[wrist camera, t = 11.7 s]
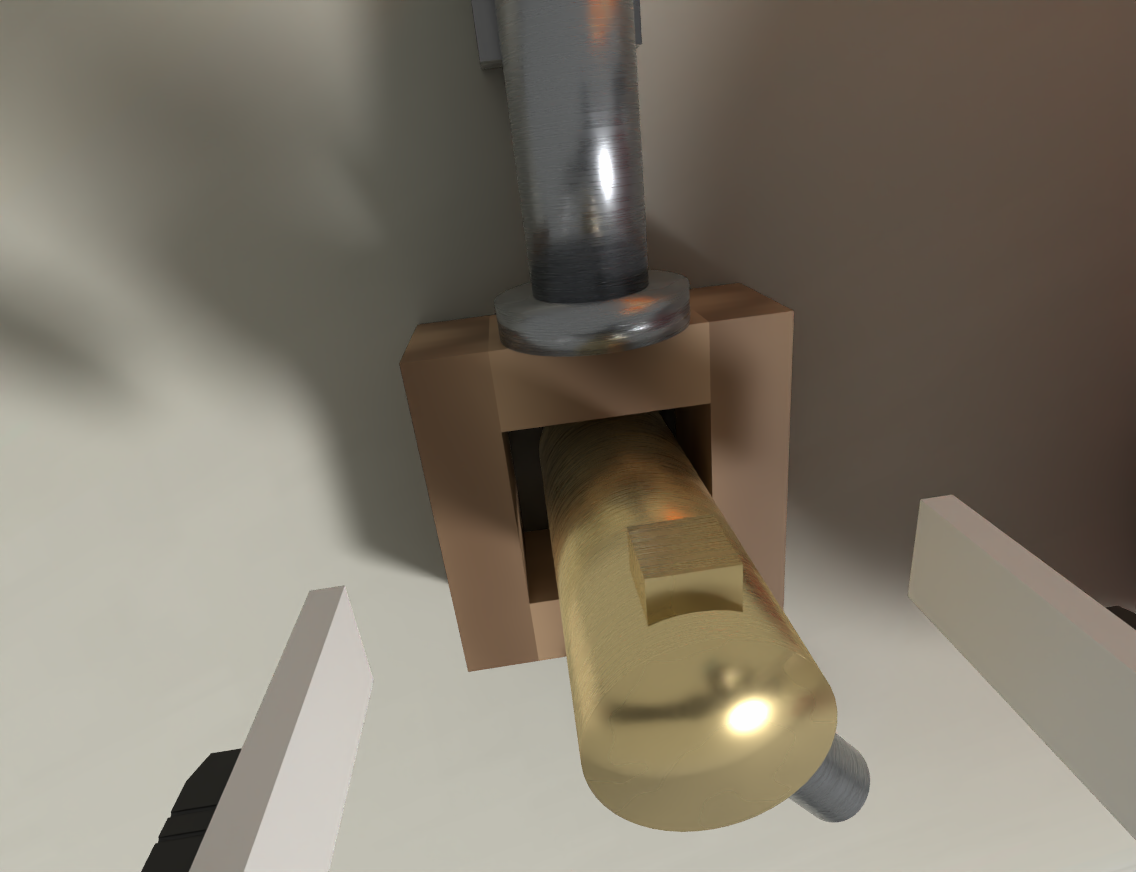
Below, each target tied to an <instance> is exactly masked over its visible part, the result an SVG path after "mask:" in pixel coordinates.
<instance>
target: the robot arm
mask: <svg viewBox="0 0 1136 872" xmlns="http://www.w3.org/2000/svg"><path fill="white" fill-rule="evenodd" d="M908 597H909V598H910V599H911V600H912V601H913V603H914V604H915V605H916V606H917V607H918V608H919V609H920V610H921V611H922V612H923V613H924V614H925V615H926V616H927V617H928V619H929V620H930V621H931V622H932V623H933V624H934V625H935V626H936V627H937V628H938V629H939V630H940V631H941V632H942V634H943V635H944V636H945V637H946V638H947V639H948V640H949V641H950V642H951V643H952V644H953V645H954V646H955V647H956V648H957V650H958V651H959V652H960V653H961V654H962V655H963V656H964V657H965V658H966V659H967V660H968V661H969V662H970V663H971V665H972V666H973V667H974V668H975V669H976V670H977V671H978V672H979V673H980V674H981V675H982V676H983V677H984V678H985V679H986V681H987V682H988V683H989V684H990V685H991V686H992V687H993V688H994V689H995V690H996V691H997V692H998V693H999V694H1000V695H1001V697H1002V698H1003V699H1004V700H1005V701H1006V702H1007V703H1008V704H1009V705H1010V706H1011V707H1012V708H1013V709H1014V710H1015V712H1016V713H1017V714H1018V715H1019V716H1020V717H1021V718H1022V719H1023V720H1024V721H1025V722H1026V723H1027V724H1028V725H1029V726H1030V728H1031V729H1032V730H1033V731H1034V732H1035V733H1036V734H1037V735H1038V736H1039V737H1040V738H1041V739H1042V740H1043V741H1044V742H1045V744H1046V745H1047V746H1048V747H1049V748H1050V749H1051V750H1052V751H1053V752H1054V753H1055V754H1056V755H1057V756H1058V757H1059V759H1060V760H1061V761H1062V762H1063V763H1064V764H1065V765H1066V766H1067V767H1068V768H1069V769H1070V770H1071V771H1072V772H1073V773H1074V775H1075V776H1076V777H1077V778H1078V779H1079V780H1080V781H1081V782H1082V783H1083V784H1084V785H1085V786H1086V787H1087V788H1088V789H1089V791H1090V792H1091V793H1092V794H1093V795H1094V796H1095V797H1096V798H1097V799H1098V800H1099V801H1100V802H1101V803H1102V804H1103V806H1104V807H1105V808H1106V809H1107V810H1108V811H1109V812H1110V813H1111V814H1112V815H1113V816H1114V817H1115V818H1116V819H1117V820H1118V822H1119V823H1120V824H1121V825H1122V826H1123V827H1124V828H1125V829H1126V830H1127V831H1128V832H1129V833H1130V834H1131V835H1132V837H1133V838H1134V839H1135V840H1136V614H1135V613H1133V612H1131V611H1128V610H1126V609H1124V608H1122V607H1120V606H1113V607H1107V608H1105V607H1104V606H1102V605H1101V604H1100V603H1098V602H1097V601H1096V600H1094V599H1093V598H1092V597H1090V596H1089V595H1087V594H1086V593H1085V592H1083V591H1082V590H1081V589H1079V588H1078V587H1077V586H1075V585H1074V584H1073V583H1071V582H1070V581H1069V580H1067V579H1066V578H1065V577H1063V576H1062V575H1060V574H1059V573H1058V572H1056V571H1055V570H1054V569H1052V568H1051V567H1050V566H1048V565H1047V564H1046V563H1044V562H1043V561H1042V560H1040V559H1039V558H1037V557H1036V556H1035V555H1033V554H1032V553H1031V552H1029V551H1028V550H1027V549H1025V548H1024V547H1023V546H1021V545H1020V544H1019V543H1017V542H1016V541H1015V540H1013V539H1012V538H1010V537H1009V536H1008V535H1006V534H1005V533H1004V532H1002V531H1001V530H1000V529H998V528H997V527H996V526H994V525H993V524H992V523H990V522H989V521H988V520H986V519H985V518H983V517H982V516H981V515H979V514H978V513H977V512H975V511H974V510H973V509H971V508H970V507H969V506H967V505H966V504H965V503H963V502H962V501H960V500H959V499H958V498H956V497H955V496H954V495H946V496H939V497H932V498H926V499H920V506H919V514H918V521H917V529H916V536H915V544H914V551H913V559H912V567H911V574H910V582H909V589H908ZM373 682H374V679H373V676H372V673H371V669H370V666H369V663H368V660H367V656H366V653H365V650H364V646H363V643H362V640H361V637H360V633H359V630H358V627H357V623H356V620H355V617H354V614H353V610H352V607H351V604H350V600H349V597H348V594H347V591H346V587H345V586H338V587H332V588H325V589H318V590H312V591H309V594H308V596H307V598H306V601H305V603H304V605H303V608H302V610H301V612H300V615H299V617H298V619H297V622H296V624H295V626H294V628H293V631H292V633H291V635H290V638H289V640H288V642H287V645H286V647H285V649H284V652H283V654H282V656H281V659H280V661H279V663H278V666H277V668H276V670H275V673H274V675H273V677H272V680H271V682H270V684H269V687H268V689H267V691H266V694H265V696H264V698H263V701H262V703H261V705H260V708H259V710H258V712H257V715H256V717H255V719H254V722H253V724H252V726H251V728H250V731H249V733H248V735H247V738H246V740H245V742H244V745H243V747H242V749H235V750H229V751H223V752H217V753H211V754H210V755H209V756H208V757H207V758H206V760H205V761H204V762H203V763H202V764H201V765H200V766H199V767H198V769H197V770H196V771H195V772H194V773H193V774H192V775H191V776H190V778H189V779H188V780H187V781H186V783H185V785H184V787H183V789H182V791H181V793H180V795H179V797H178V799H177V801H176V803H175V805H174V807H173V809H172V811H171V817H170V818H168V819H167V821H166V823H165V825H164V827H163V829H162V831H161V833H160V835H159V837H158V838H159V841H158V843H156V844H155V845H154V847H153V849H152V851H151V853H150V855H149V857H148V859H147V861H146V863H145V865H144V867H143V869H142V871H141V872H329V870H330V865H331V861H332V857H333V852H334V848H335V844H336V840H337V835H338V831H339V827H340V823H341V818H342V814H343V810H344V805H345V801H346V797H347V793H348V788H349V784H350V780H351V776H352V771H353V767H354V763H355V758H356V754H357V750H358V746H359V741H360V737H361V733H362V729H363V724H364V720H365V716H366V711H367V707H368V703H369V699H370V694H371V690H372V686H373Z"/></svg>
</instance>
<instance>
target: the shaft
mask: <svg viewBox="0 0 1136 872" xmlns="http://www.w3.org/2000/svg"><path fill="white" fill-rule="evenodd" d="M471 2H472V9H473V16H474V23H475V30H476V37H477V44H478V51H479V58H480V65H481V69H489V68H498V67H503V71H504V78H505V86H506V94H507V101H508V109H509V117H510V124H511V132H512V140H513V147H514V155H515V163H516V171H517V178H518V186H519V194H520V201H521V209H522V217H523V224H524V232H525V240H526V247H527V255H528V263H529V271H530V278H531V282H530V283H527V284H523V285H520V286H517V287H514V288H512V289H509V290H507V291H505V292H503V293H501V294H500V295H498V296H497V297H496V298H495V301H494V304H495V310H496V317H497V323H498V330H499V336H500V341H501V343H502V345H503V346H505V347H506V348H508V349H510V350H513V351H516V352H520V353H524V354H530V355H538V356H553V357H572V356H590V355H600V354H609V353H615V352H622V351H627V350H632V349H637V348H641V347H645V346H649V345H653V344H656V343H659V342H662V341H665V340H667V339H670V338H672V337H674V336H676V335H678V334H680V333H681V332H683V331H684V330H685V329H686V328H687V327H688V326H689V325H690V292H689V280H688V279H687V278H686V277H685V276H683V275H680V274H677V273H673V272H667V271H658V270H648V257H647V239H646V221H645V204H644V186H643V168H642V150H641V132H640V114H639V96H638V79H637V61H636V48H637V47H638V46H640V45H641V44H642V37H641V18H640V0H471Z"/></svg>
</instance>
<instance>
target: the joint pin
mask: <svg viewBox="0 0 1136 872" xmlns="http://www.w3.org/2000/svg"><path fill="white" fill-rule="evenodd" d="M539 455H540V464H541V471H542V478H543V486H544V493H545V500H546V508H547V515H548V523H549V530H550V537H551V545H552V552H553V559H554V567H555V574H556V582H557V589H558V596H559V604H560V611H561V618H562V626H563V633H564V641H565V648H566V655H567V663H568V670H569V677H570V685H571V692H572V700H573V707H574V714H575V722H576V729H577V736H578V744H579V751H580V758H581V765H582V769H583V774H584V777H585V779H586V781H587V784H588V786H589V788H590V789H591V791H592V792H593V794H594V795H595V796H596V798H597V799H598V800H599V801H600V802H601V803H602V804H603V805H604V806H605V807H607V808H608V809H609V810H611V811H612V812H613V813H615V814H616V815H618V816H620V817H622V818H624V819H625V820H628V821H630V822H633V823H635V824H638V825H641V826H645V827H648V828H652V829H658V830H665V831H679V832H687V831H702V830H710V829H716V828H720V827H725V826H729V825H732V824H736V823H739V822H742V821H745V820H747V819H750V818H753V817H755V816H758V815H760V814H762V813H763V812H765V811H767V810H769V809H771V808H773V807H775V806H776V805H778V804H780V803H781V802H783V801H784V800H786V799H787V798H788V797H790V796H791V795H792V794H794V793H795V792H796V791H797V790H799V789H800V788H801V787H802V786H803V785H804V784H805V783H806V782H807V781H808V780H809V779H810V778H811V777H812V775H813V774H814V773H815V772H816V771H817V770H818V768H819V767H820V765H821V764H822V762H823V761H824V759H825V757H826V756H827V754H828V752H829V750H830V748H831V745H832V742H833V739H834V736H835V732H836V726H837V707H836V701H835V697H834V695H833V692H832V689H831V687H830V685H829V684H828V682H827V680H826V679H825V677H824V676H823V674H822V672H821V671H820V669H819V668H818V666H817V664H816V663H815V661H814V660H813V658H812V656H811V655H810V653H809V652H808V650H807V648H806V647H805V645H804V644H803V642H802V640H801V639H800V637H799V636H798V634H797V632H796V631H795V629H794V628H793V626H792V624H791V623H790V621H789V620H788V618H787V616H786V615H785V613H784V612H783V610H782V608H781V607H780V605H779V604H778V602H777V600H776V599H775V597H774V596H773V594H772V592H771V591H770V589H769V588H768V586H767V584H766V583H765V581H764V580H763V578H762V576H761V575H760V573H759V572H758V570H757V568H756V567H755V565H754V564H753V562H752V560H751V559H750V557H749V556H748V554H747V552H746V551H745V549H744V548H743V546H742V544H741V543H740V541H739V540H738V538H737V536H736V535H735V533H734V532H733V530H732V528H731V527H730V525H729V524H728V522H727V520H726V519H725V517H724V516H723V514H722V512H721V511H720V509H719V508H718V506H717V504H716V503H715V501H714V500H713V498H712V496H711V495H710V493H709V492H708V490H707V488H706V487H705V485H704V484H703V482H702V480H701V479H700V477H699V476H698V474H697V472H696V471H695V469H694V468H693V466H692V464H691V463H690V461H689V460H688V458H687V456H686V455H685V453H684V452H683V450H682V448H681V447H680V445H679V444H678V442H677V440H676V439H675V437H674V436H673V434H672V432H671V431H670V429H669V428H668V426H667V425H666V423H665V421H664V420H663V418H662V417H661V415H660V413H659V412H658V411H651V412H644V413H636V414H629V415H622V416H615V417H608V418H601V419H593V420H586V421H579V422H572V423H565V424H558V425H551V426H544V428H543V431H542V434H541V438H540V445H539Z"/></svg>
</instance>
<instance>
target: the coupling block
mask: <svg viewBox="0 0 1136 872" xmlns="http://www.w3.org/2000/svg"><path fill="white" fill-rule="evenodd" d="M689 292H690V325H689V326H688V327H687V328H686V329H685V330H684V331H683V332H681V333H680V334H678V335H676V336H674V337H672V338H670V339H667V340H665V341H662V342H659V343H656V344H653V345H649V346H645V347H641V348H637V349H632V350H627V351H622V352H615V353H609V354H600V355H590V356H572V357H553V356H538V355H530V354H524V353H520V352H516V351H513V350H510V349H508V348H506V347H505V346H503V345H502V343H501V341H500V336H499V330H498V323H497V317H496V315H488V316H481V317H473V318H465V319H458V320H450V321H442V322H435V323H427V324H419V325H417V327H416V329H415V331H414V333H413V335H412V337H411V339H410V342H409V344H408V346H407V348H406V350H405V352H404V354H403V356H402V359H401V361H400V363H399V365H400V369H401V374H402V378H403V382H404V387H405V391H406V396H407V400H408V405H409V409H410V414H411V418H412V423H413V427H414V432H415V436H416V440H417V445H418V449H419V454H420V458H421V463H422V467H423V472H424V476H425V481H426V485H427V490H428V494H429V498H430V503H431V507H432V512H433V516H434V521H435V525H436V530H437V534H438V539H439V543H440V548H441V552H442V557H443V561H444V565H445V570H446V574H447V579H448V583H449V588H450V592H451V597H452V601H453V606H454V610H455V615H456V619H457V623H458V628H459V632H460V637H461V641H462V646H463V650H464V655H465V659H466V664H467V668H468V672H470V671H477V670H483V669H489V668H496V667H502V666H508V665H515V664H521V663H527V662H534V661H540V660H546V659H553V658H559V657H565V656H567V655H566V648H565V641H564V633H563V626H562V618H561V611H560V604H559V596H558V589H557V582H556V574H555V567H554V559H553V552H552V545H551V537H550V530H549V529H543V530H536V531H529V532H524V528H523V521H522V515H521V509H520V503H519V496H518V490H517V484H516V477H515V471H514V465H513V459H512V452H511V446H510V440H509V433H508V431H515V430H522V429H529V428H536V427H543V426H551V425H558V424H565V423H572V422H579V421H586V420H593V419H601V418H608V417H615V416H622V415H629V414H636V413H644V412H651V411H658V410H665V409H672V408H675V417H676V440H677V442H678V444H679V445H680V447H681V448H682V450H683V452H684V453H685V455H686V456H687V458H688V460H689V461H690V463H691V464H692V466H693V468H694V469H695V471H696V472H697V474H698V476H699V477H700V479H701V480H702V482H703V484H704V485H705V487H706V488H707V490H708V492H709V493H710V495H711V496H712V498H713V500H714V501H715V503H716V504H717V506H718V508H719V509H720V511H721V512H722V514H723V516H724V517H725V519H726V520H727V522H728V524H729V525H730V527H731V528H732V530H733V532H734V533H735V535H736V536H737V538H738V540H739V541H740V543H741V544H742V546H743V548H744V549H745V551H746V552H747V554H748V556H749V557H750V559H751V560H752V562H753V564H754V565H755V567H756V568H757V570H758V572H759V573H760V575H761V576H762V578H763V580H764V581H765V583H766V584H767V586H768V588H769V589H770V591H771V592H772V594H773V596H774V597H775V599H776V600H777V602H778V604H779V605H780V607H781V608H782V610H783V604H784V576H785V548H786V520H787V492H788V464H789V436H790V408H791V380H792V351H793V323H794V311H793V310H791V309H789V308H787V307H786V306H784V305H782V304H780V303H778V302H776V301H774V300H772V299H770V298H768V297H766V296H764V295H762V294H760V293H759V292H757V291H755V290H753V289H751V288H749V287H747V286H745V285H743V284H741V283H734V284H726V285H718V286H711V287H703V288H695V289H689Z"/></svg>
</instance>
